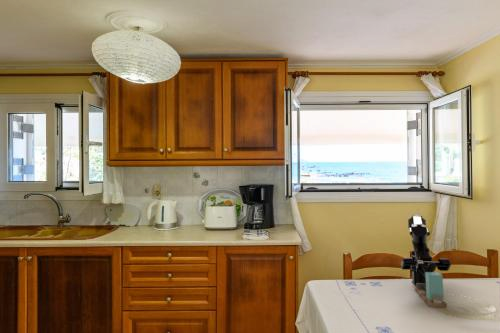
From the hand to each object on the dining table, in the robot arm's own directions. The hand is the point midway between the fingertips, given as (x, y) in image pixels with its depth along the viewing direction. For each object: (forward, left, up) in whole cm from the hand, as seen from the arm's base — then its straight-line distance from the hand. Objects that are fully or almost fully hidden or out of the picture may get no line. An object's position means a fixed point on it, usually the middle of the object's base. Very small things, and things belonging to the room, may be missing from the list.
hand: (430, 282), depth 137 cm
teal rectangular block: (0, -4, -5) cm, 7 cm away
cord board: (0, +2, -7) cm, 8 cm away
